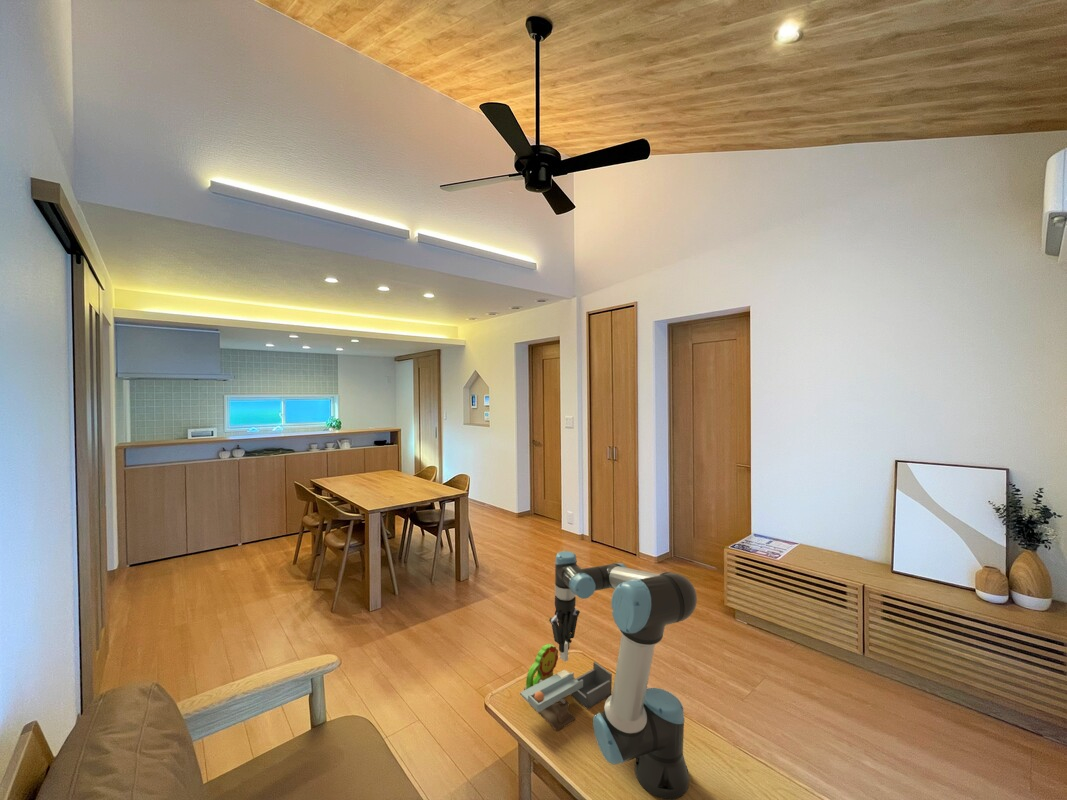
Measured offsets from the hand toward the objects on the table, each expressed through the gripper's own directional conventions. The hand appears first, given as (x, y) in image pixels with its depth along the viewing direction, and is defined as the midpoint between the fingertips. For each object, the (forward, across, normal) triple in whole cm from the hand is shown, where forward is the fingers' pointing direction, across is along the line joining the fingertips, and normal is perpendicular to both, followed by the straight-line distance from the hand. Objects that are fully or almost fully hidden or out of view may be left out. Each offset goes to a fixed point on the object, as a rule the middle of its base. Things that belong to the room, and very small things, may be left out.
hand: (563, 659), depth 158 cm
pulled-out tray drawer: (+14, -9, +6) cm, 18 cm away
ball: (+4, +16, +5) cm, 17 cm away
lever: (+7, +8, +3) cm, 11 cm away
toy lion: (+15, +3, -8) cm, 17 cm away
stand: (+14, +8, +3) cm, 17 cm away
